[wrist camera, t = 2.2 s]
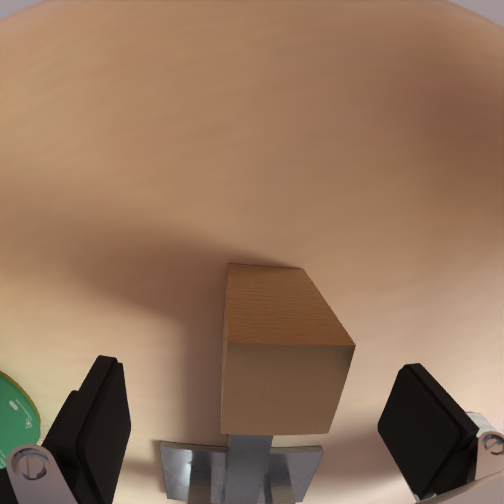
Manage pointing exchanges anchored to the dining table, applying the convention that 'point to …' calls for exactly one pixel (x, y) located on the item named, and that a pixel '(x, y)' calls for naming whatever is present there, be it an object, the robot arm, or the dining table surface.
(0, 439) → the beverage can
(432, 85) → the dining table surface
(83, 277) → the dining table surface
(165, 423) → the dining table surface
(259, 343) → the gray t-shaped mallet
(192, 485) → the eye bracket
